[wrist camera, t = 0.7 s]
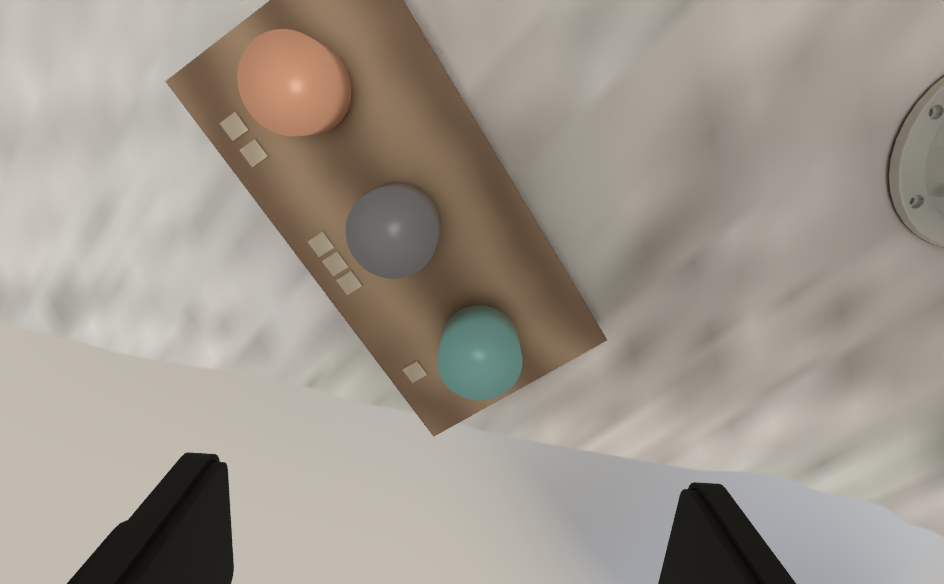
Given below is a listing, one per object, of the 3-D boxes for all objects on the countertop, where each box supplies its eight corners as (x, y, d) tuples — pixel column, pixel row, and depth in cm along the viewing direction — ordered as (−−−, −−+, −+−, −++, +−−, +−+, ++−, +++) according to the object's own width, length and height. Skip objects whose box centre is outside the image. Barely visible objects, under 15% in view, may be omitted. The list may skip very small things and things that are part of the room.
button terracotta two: (314, 19, 28) (296, 6, 25) (369, 103, 29) (357, 100, 26) (242, 73, 29) (216, 67, 26) (298, 152, 30) (280, 155, 27)
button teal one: (492, 290, 32) (493, 306, 30) (532, 353, 34) (538, 374, 31) (425, 330, 33) (420, 350, 30) (467, 390, 35) (466, 414, 32)
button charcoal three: (409, 165, 30) (403, 169, 27) (457, 237, 31) (455, 248, 29) (340, 211, 31) (326, 220, 28) (389, 280, 32) (380, 295, 29)
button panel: (371, -52, 31) (360, -72, 28) (597, 323, 38) (608, 341, 35) (192, 85, 33) (163, 81, 30) (436, 414, 40) (433, 438, 37)
